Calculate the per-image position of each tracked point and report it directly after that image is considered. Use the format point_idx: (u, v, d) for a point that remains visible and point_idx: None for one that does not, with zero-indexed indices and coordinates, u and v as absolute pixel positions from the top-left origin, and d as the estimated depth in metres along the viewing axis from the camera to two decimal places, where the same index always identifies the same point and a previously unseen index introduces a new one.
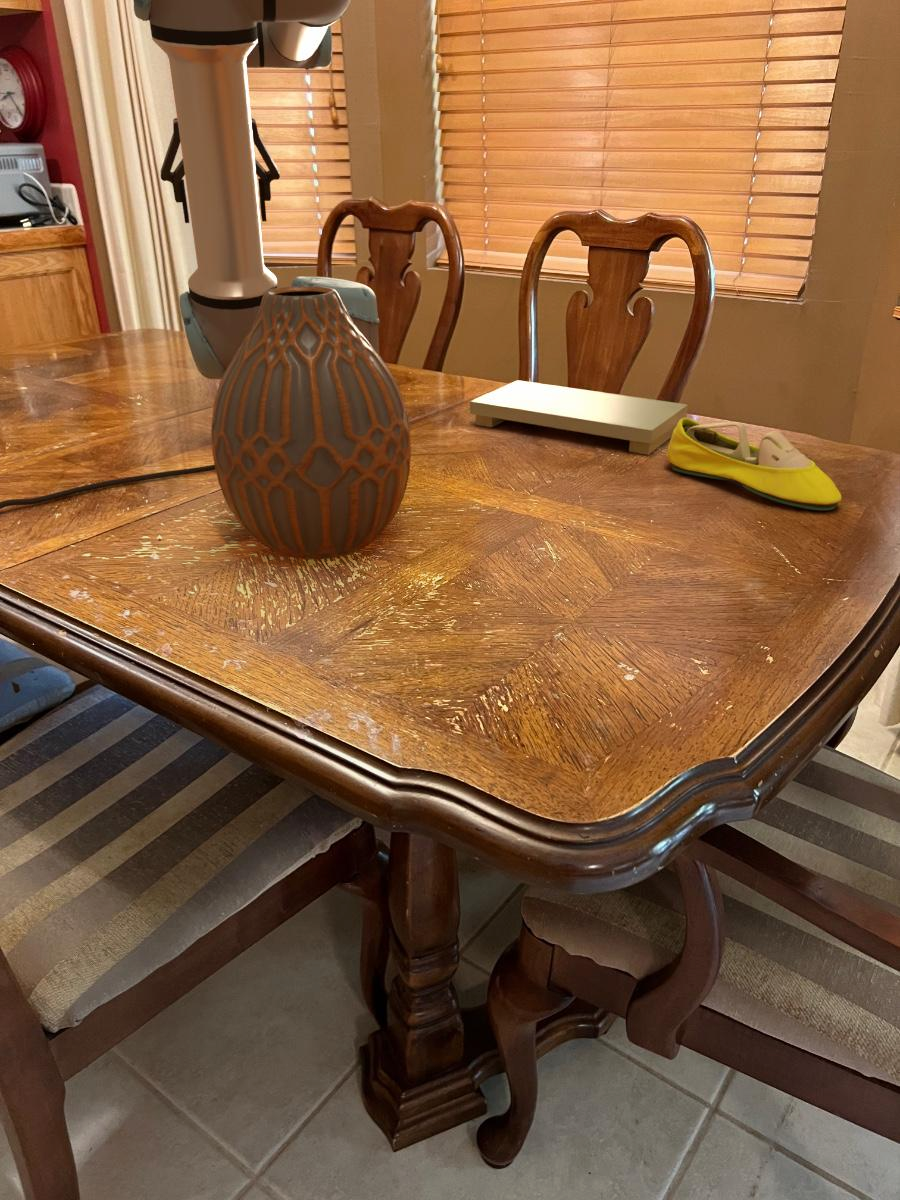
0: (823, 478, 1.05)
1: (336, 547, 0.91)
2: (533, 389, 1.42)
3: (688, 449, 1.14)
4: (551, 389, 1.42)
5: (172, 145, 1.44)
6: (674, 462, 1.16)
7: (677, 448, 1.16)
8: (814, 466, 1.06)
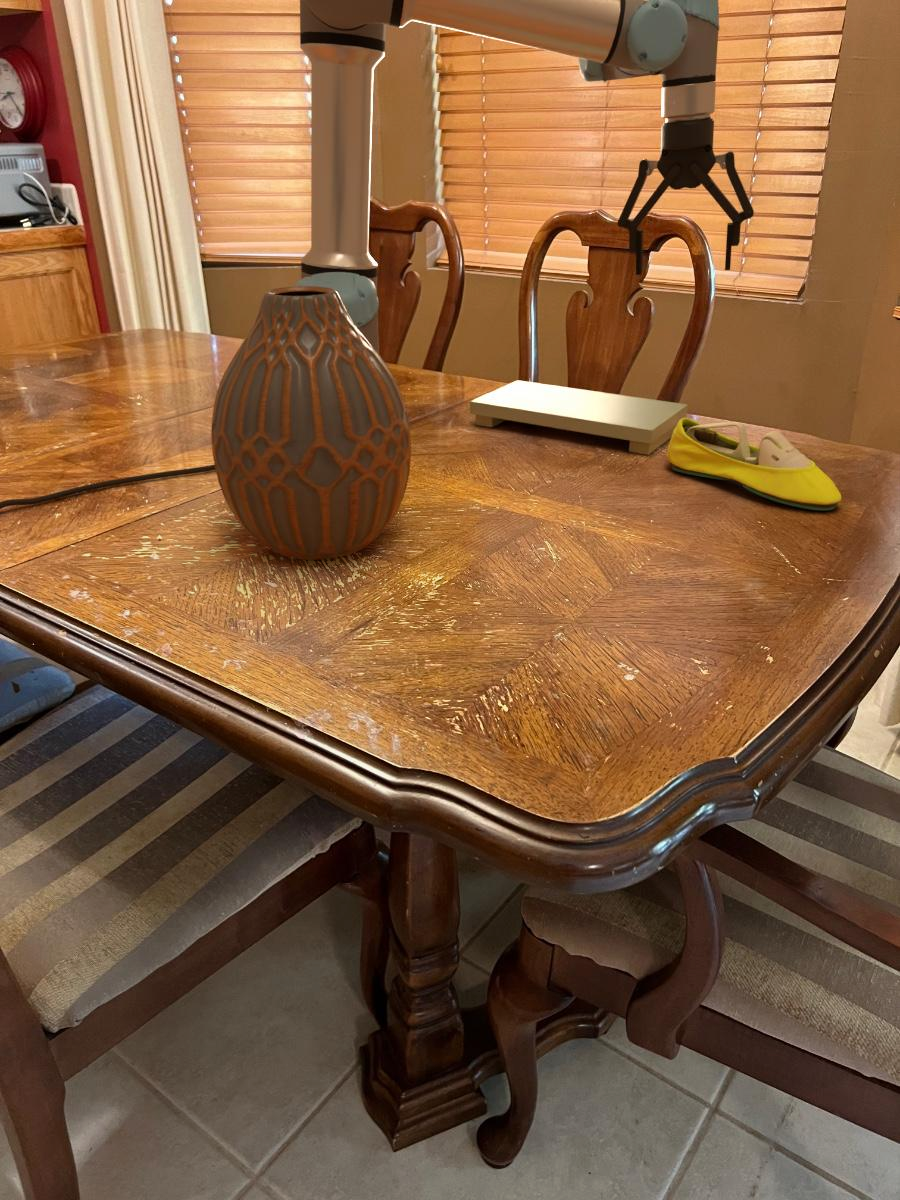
0: (823, 478, 1.05)
1: (336, 547, 0.91)
2: (533, 389, 1.42)
3: (688, 449, 1.14)
4: (551, 389, 1.42)
5: (635, 185, 1.32)
6: (674, 462, 1.16)
7: (677, 448, 1.16)
8: (814, 466, 1.06)
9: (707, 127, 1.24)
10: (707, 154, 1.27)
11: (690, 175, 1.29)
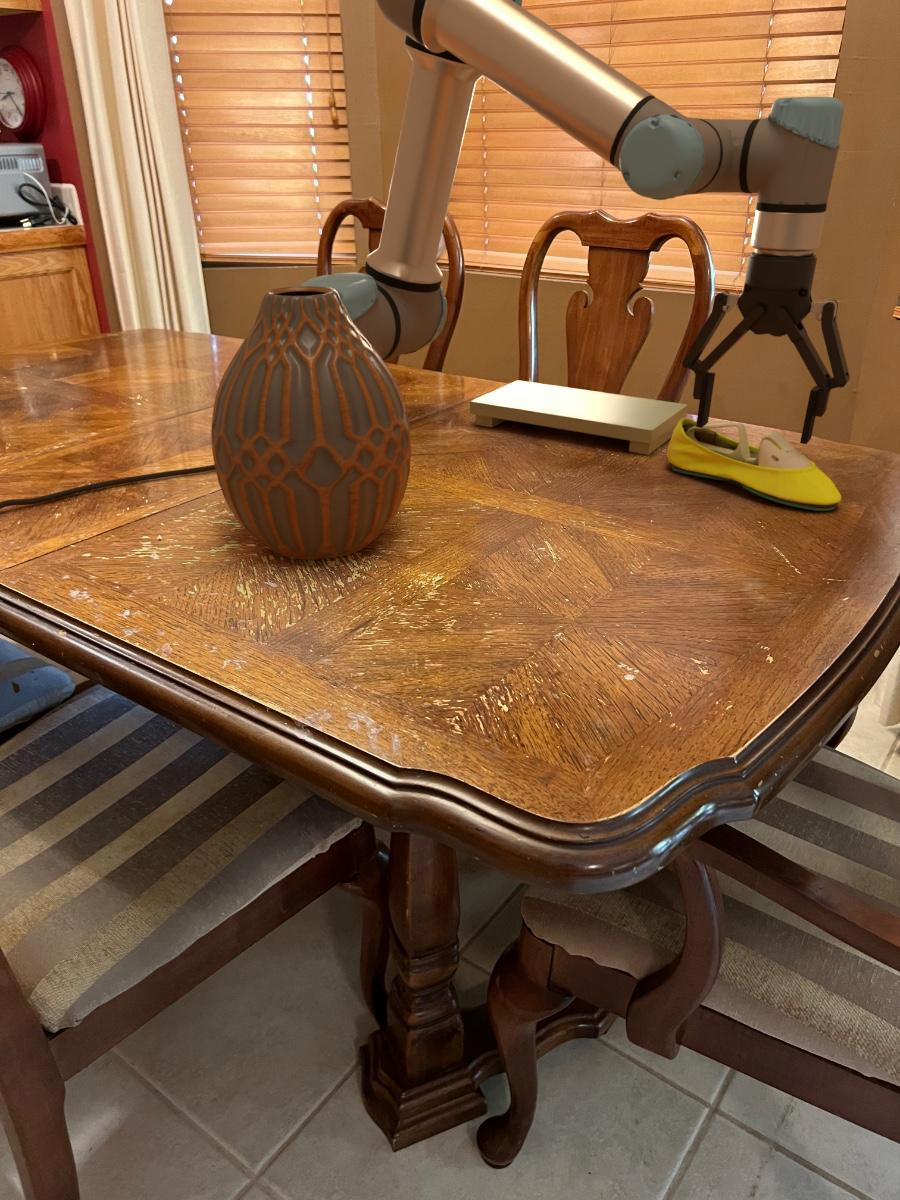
0: (823, 479, 1.05)
1: (336, 547, 0.91)
2: (533, 389, 1.42)
3: (688, 449, 1.14)
4: (551, 389, 1.42)
5: (707, 322, 1.06)
6: (674, 462, 1.17)
7: (677, 448, 1.16)
8: (814, 466, 1.06)
9: (803, 267, 0.97)
10: (800, 299, 0.99)
11: (776, 320, 1.02)
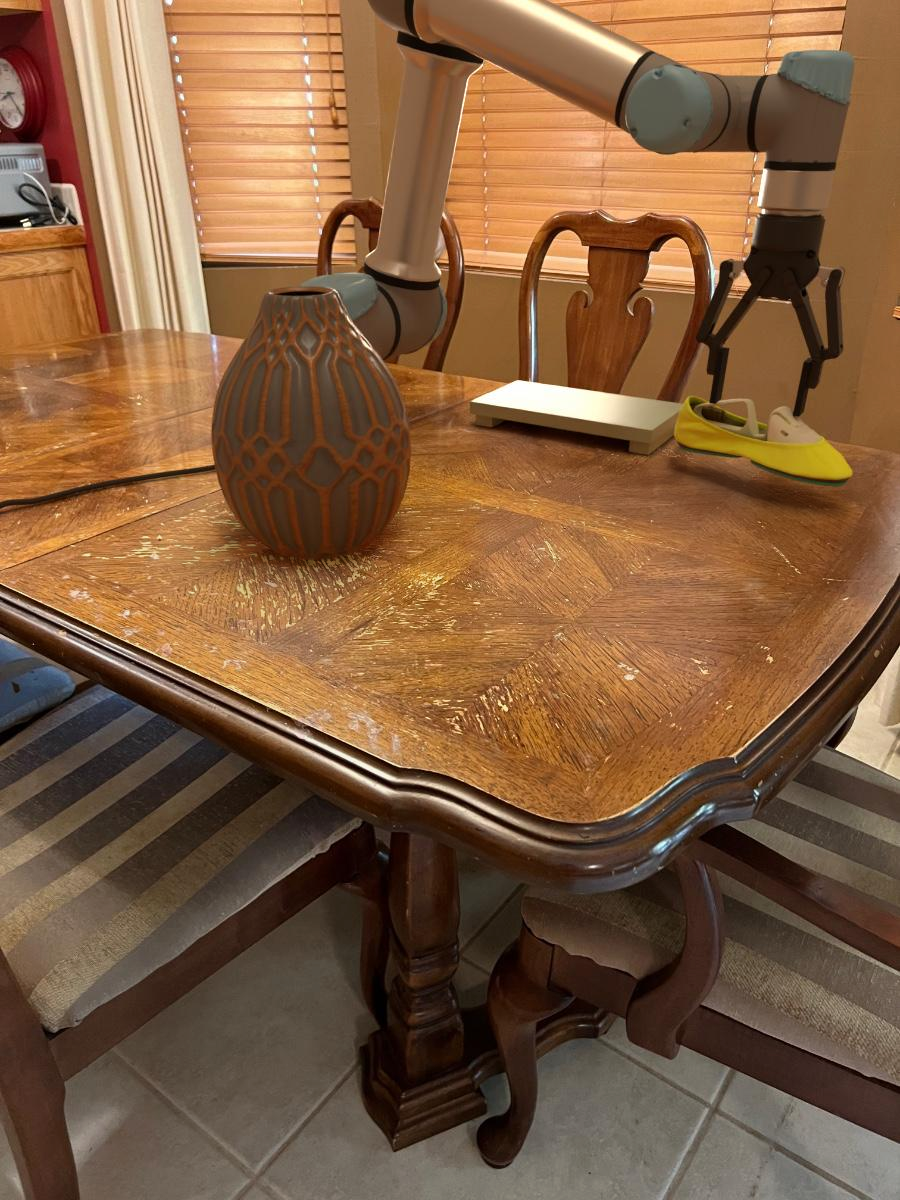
0: (833, 453, 1.03)
1: (336, 547, 0.91)
2: (533, 389, 1.42)
3: (695, 427, 1.13)
4: (551, 389, 1.42)
5: (715, 292, 1.04)
6: (681, 441, 1.15)
7: (684, 426, 1.14)
8: (824, 441, 1.04)
9: (811, 228, 0.95)
10: (807, 261, 0.97)
11: (782, 283, 1.00)
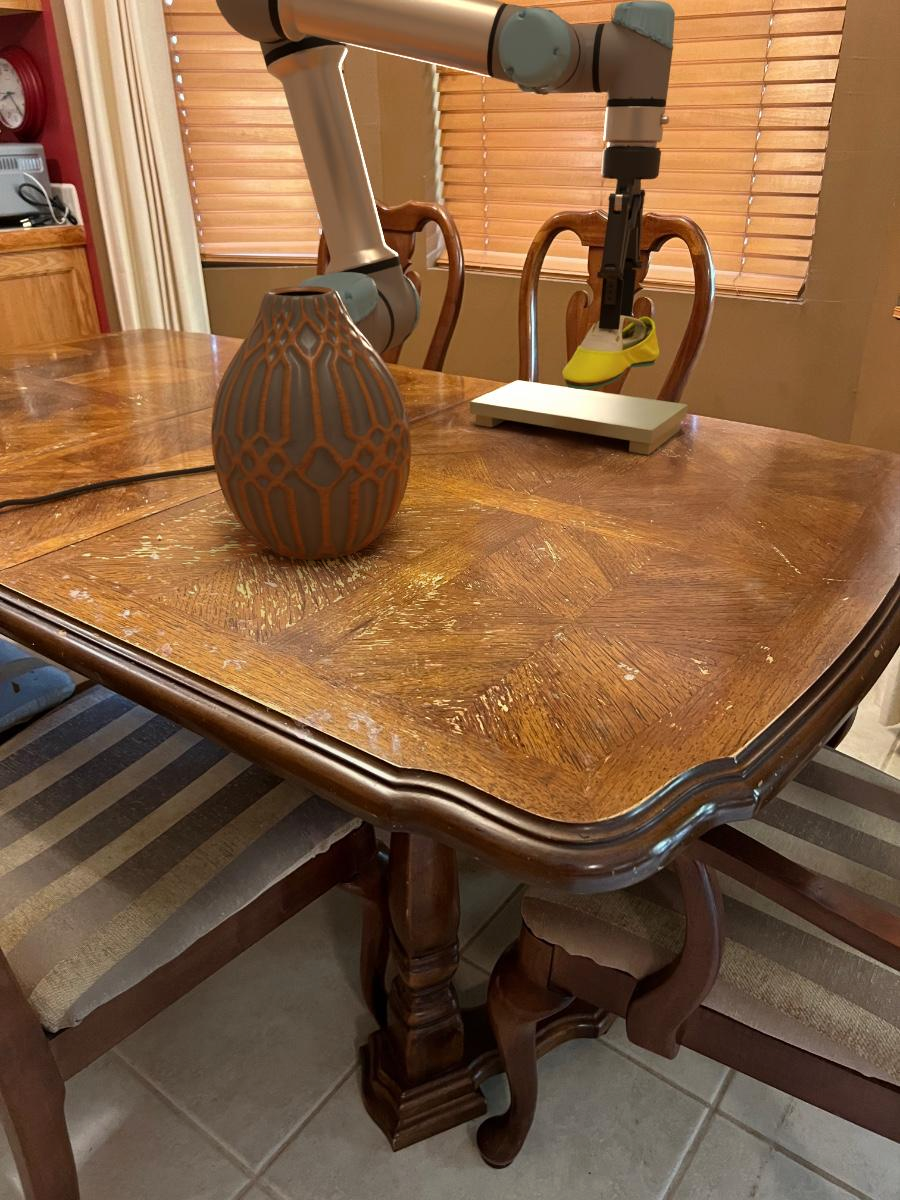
0: (584, 361, 1.17)
1: (336, 547, 0.91)
2: (533, 389, 1.42)
3: None
4: (551, 389, 1.42)
5: None
6: None
7: None
8: (594, 352, 1.17)
9: (609, 156, 1.11)
10: (616, 187, 1.13)
11: None
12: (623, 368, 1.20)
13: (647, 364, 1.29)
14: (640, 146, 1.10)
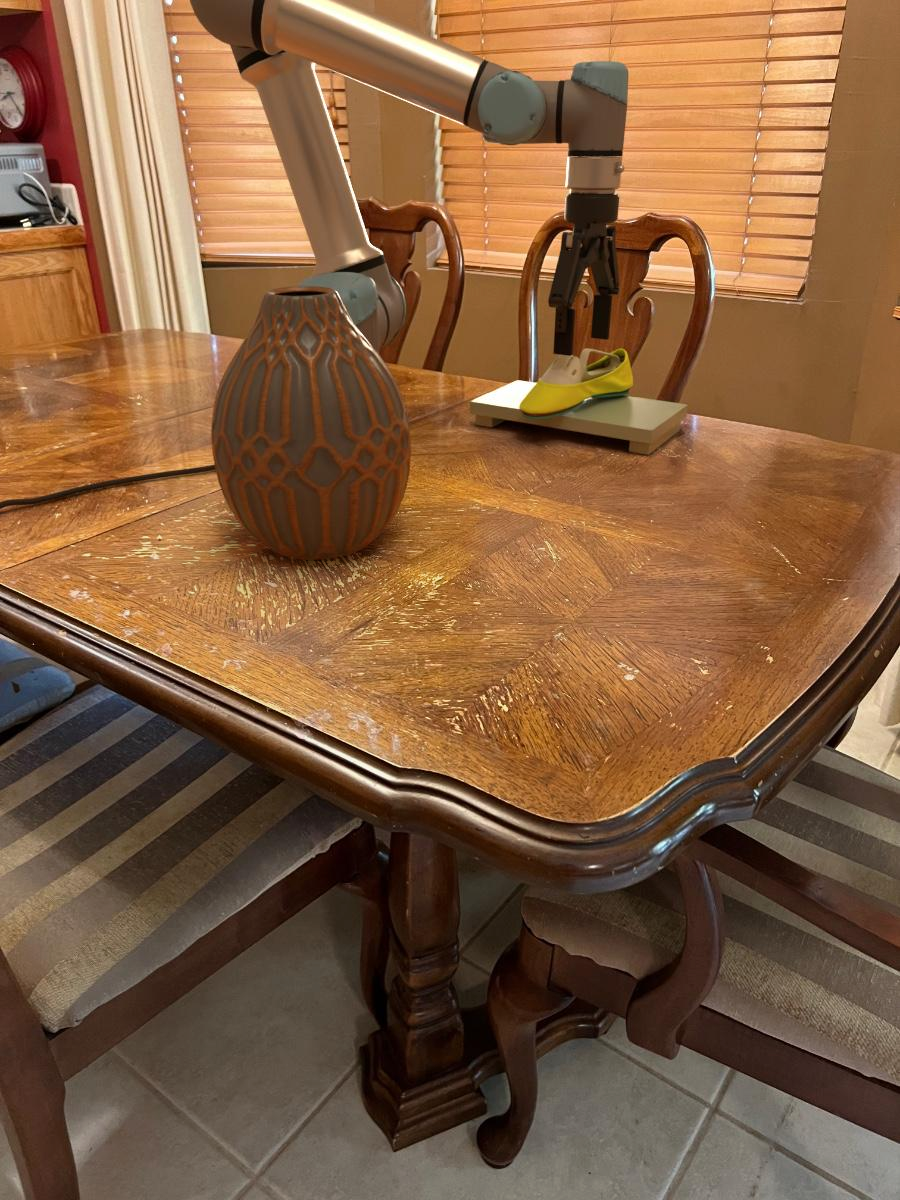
0: (537, 393, 1.26)
1: (336, 547, 0.91)
2: None
3: None
4: None
5: None
6: None
7: None
8: (548, 384, 1.26)
9: (568, 202, 1.20)
10: None
11: None
12: (579, 400, 1.28)
13: (618, 394, 1.36)
14: (594, 193, 1.18)
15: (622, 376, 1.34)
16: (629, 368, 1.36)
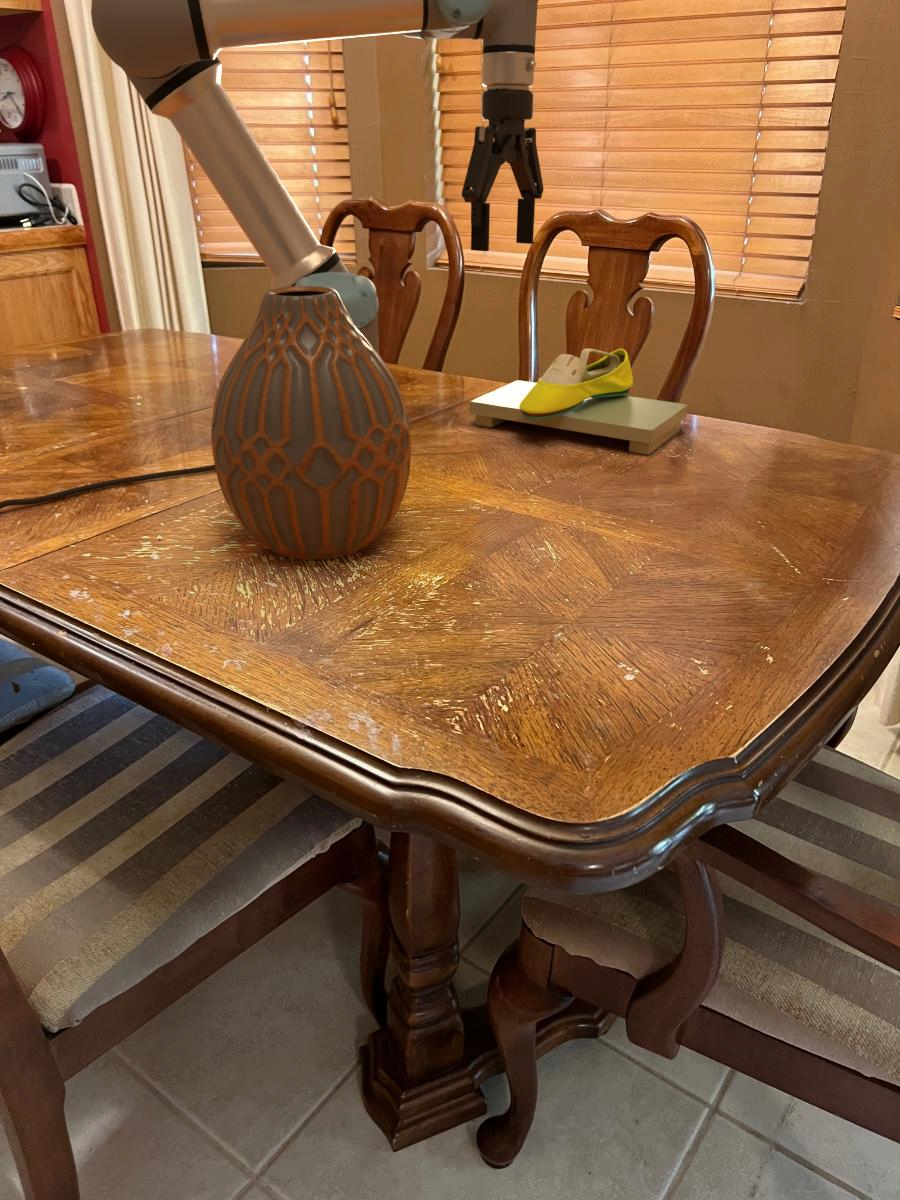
0: (537, 393, 1.26)
1: (336, 547, 0.91)
2: None
3: None
4: None
5: None
6: None
7: None
8: (548, 384, 1.26)
9: (483, 99, 1.24)
10: None
11: None
12: (579, 400, 1.28)
13: (618, 394, 1.36)
14: (507, 88, 1.22)
15: (622, 376, 1.34)
16: (629, 368, 1.36)
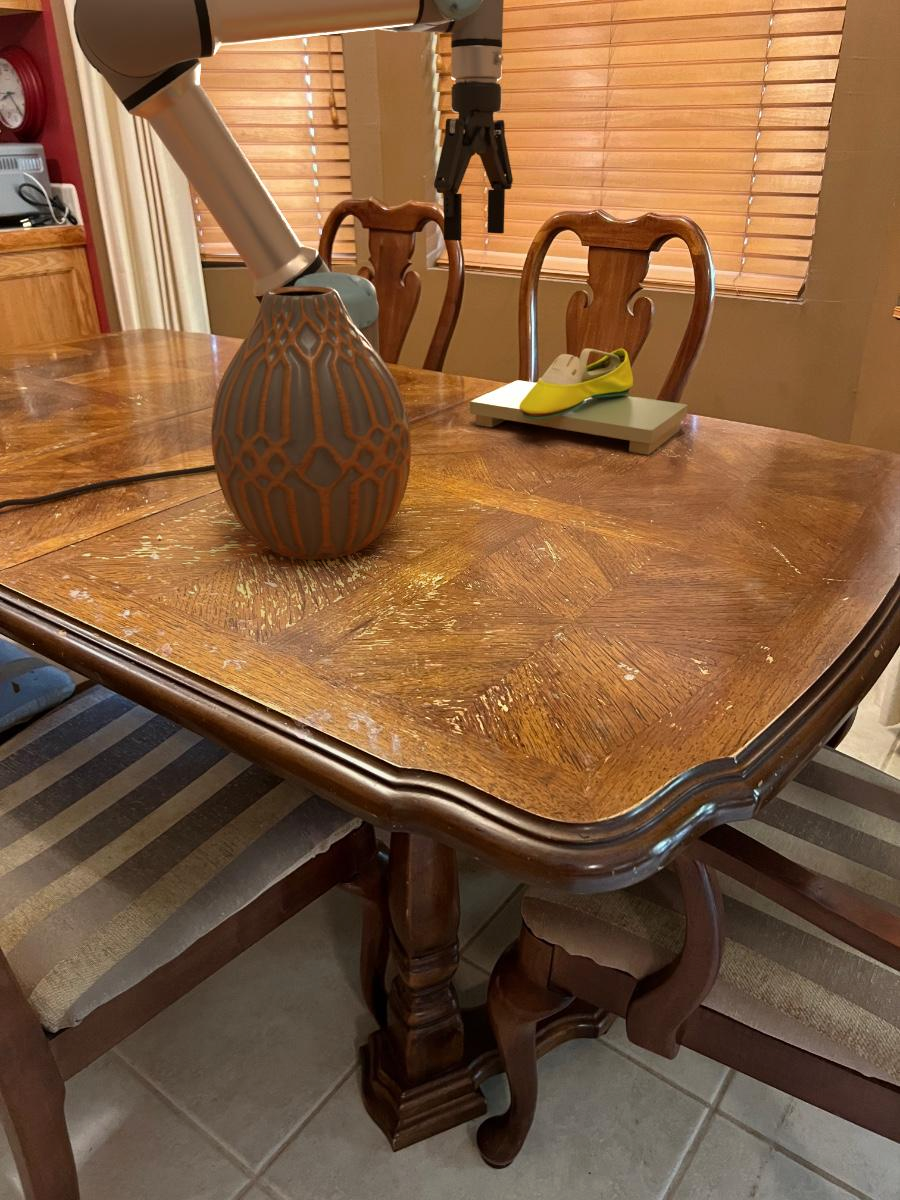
0: (537, 393, 1.26)
1: (336, 547, 0.91)
2: None
3: None
4: None
5: None
6: None
7: None
8: (548, 384, 1.26)
9: (452, 92, 1.27)
10: None
11: None
12: (579, 400, 1.28)
13: (618, 394, 1.36)
14: (475, 81, 1.25)
15: (622, 376, 1.34)
16: (629, 368, 1.36)
